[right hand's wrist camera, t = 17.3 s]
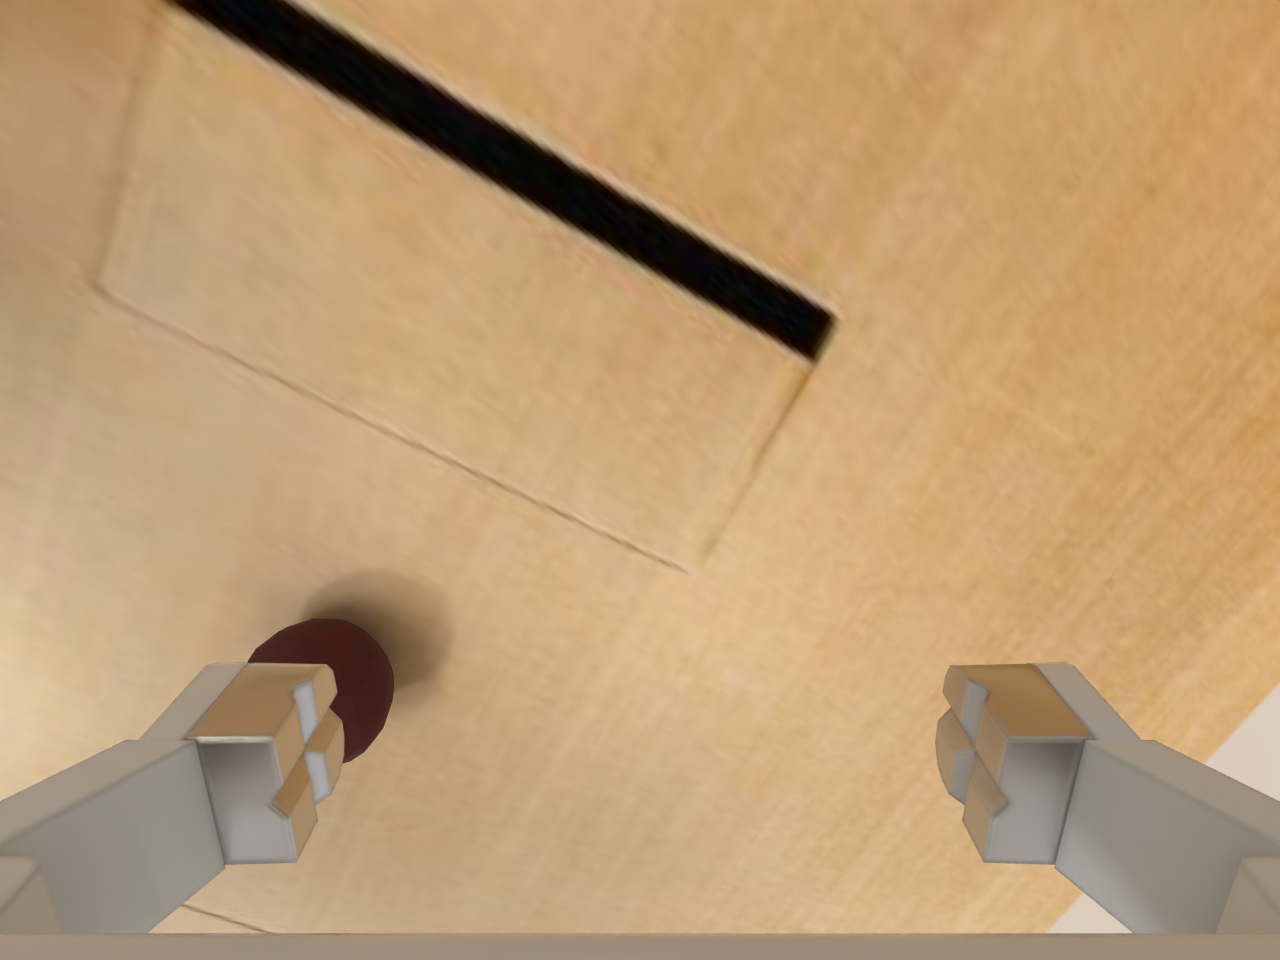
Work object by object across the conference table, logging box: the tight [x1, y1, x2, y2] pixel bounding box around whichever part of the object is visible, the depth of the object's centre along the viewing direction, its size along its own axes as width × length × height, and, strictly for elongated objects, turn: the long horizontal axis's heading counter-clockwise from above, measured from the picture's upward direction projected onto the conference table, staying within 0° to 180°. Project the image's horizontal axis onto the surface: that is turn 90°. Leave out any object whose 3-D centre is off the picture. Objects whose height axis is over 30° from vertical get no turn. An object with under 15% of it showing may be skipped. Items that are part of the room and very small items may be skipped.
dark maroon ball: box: [248, 619, 394, 764], centre depth 41 cm, size 7×8×7 cm
